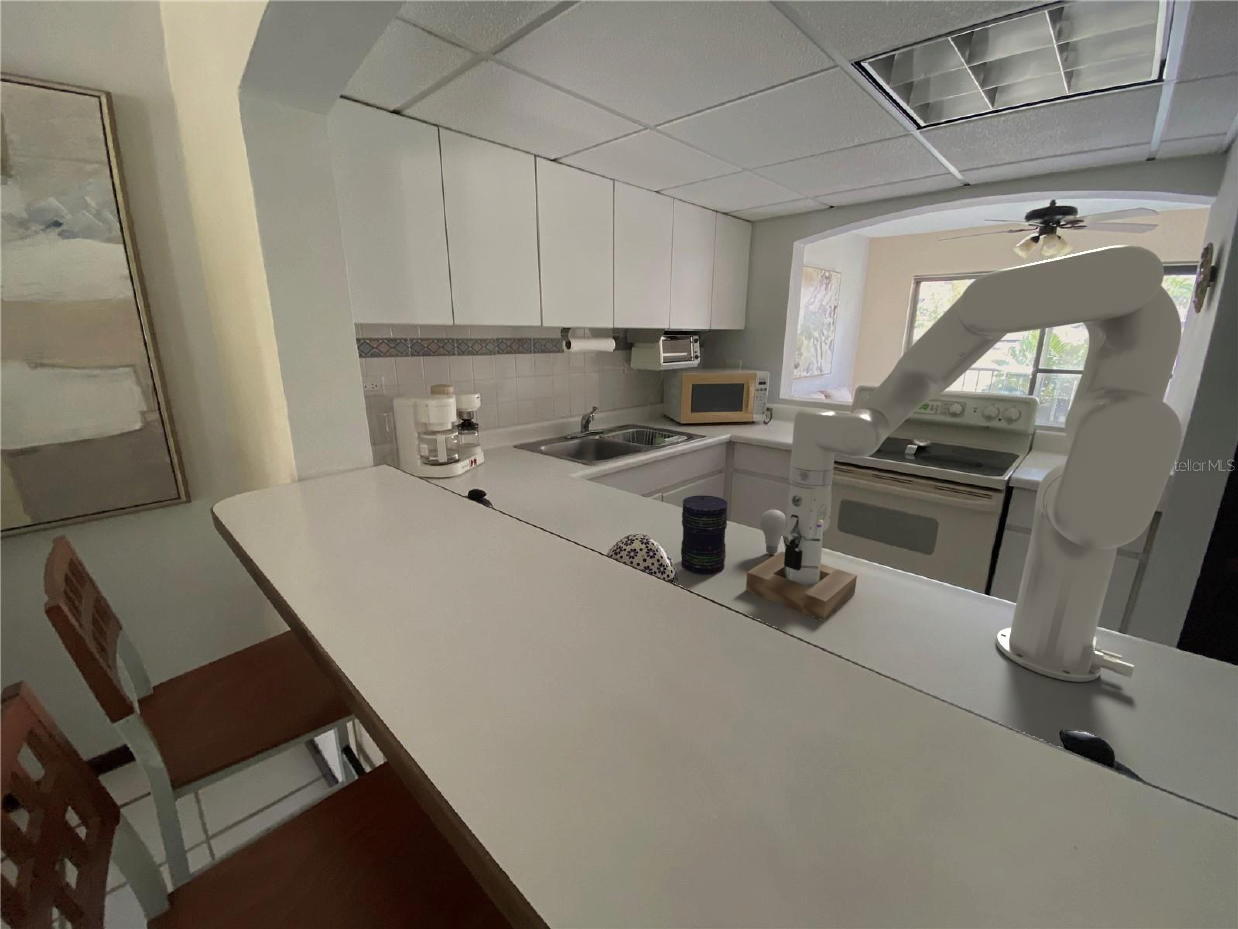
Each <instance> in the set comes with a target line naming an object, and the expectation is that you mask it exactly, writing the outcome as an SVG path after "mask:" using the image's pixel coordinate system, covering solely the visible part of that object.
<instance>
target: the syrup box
mask: <svg viewBox="0 0 1238 929" xmlns="http://www.w3.org/2000/svg"><path fill="white" fill-rule="evenodd" d="M817 523H818V525H817V534H816V536H815V537H813V538H811V539H809V540H807V539H805V538H804V541H803V544H802V547H801V551H803V552H802V563H801V569H800V570H799V571H797V570H794V569H791V568H789V567H786V573H785V576H786V579H789V580H792V581H795V582H797V583H800V584H803V585H806V586H809V587H811V588H812V587H813V586H815V585H816V584H817V583H819V577H820V566H821V564H822V553H823V552H822V550H823V541H822V539H823V537H824V536H823V527H824V522H823V520H822V519H821V520H819V521H818V522H817ZM794 533H797V534H800V531H799V528H798V526H797V528H796V529H795V531H794ZM798 539H799V538H797V537H794V536H793V540H795V542H796V543H797V542H798Z"/></svg>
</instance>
